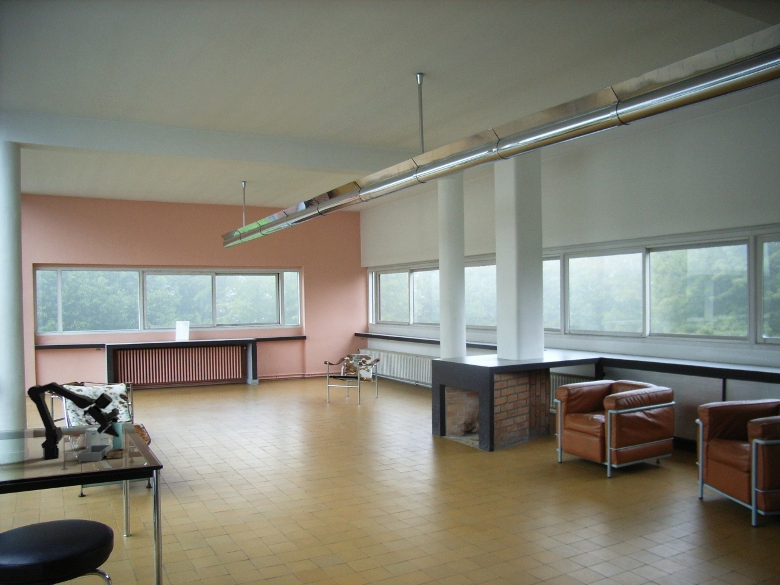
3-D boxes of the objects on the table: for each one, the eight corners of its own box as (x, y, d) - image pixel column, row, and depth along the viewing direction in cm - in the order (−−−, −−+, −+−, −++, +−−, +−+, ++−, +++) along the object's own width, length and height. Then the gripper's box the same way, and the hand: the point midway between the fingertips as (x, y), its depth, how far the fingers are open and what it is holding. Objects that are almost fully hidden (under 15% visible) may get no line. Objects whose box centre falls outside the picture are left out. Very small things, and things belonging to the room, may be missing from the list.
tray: (78, 461, 320) (78, 453, 320) (90, 452, 337) (90, 445, 337) (100, 460, 321) (100, 453, 321) (111, 452, 338) (111, 444, 338)
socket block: (106, 458, 326) (106, 452, 326) (111, 454, 334) (111, 448, 334) (122, 457, 327) (122, 452, 327) (127, 453, 335) (127, 448, 335)
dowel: (114, 449, 327) (114, 424, 327) (111, 447, 330) (111, 423, 330) (123, 448, 330) (123, 423, 330) (120, 446, 333) (120, 422, 333)
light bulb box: (102, 444, 356) (102, 425, 356) (109, 445, 352) (109, 426, 352) (84, 448, 347) (84, 428, 347) (91, 449, 344) (91, 430, 344)
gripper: (103, 407, 321) (125, 428, 322) (115, 401, 339) (136, 420, 340) (87, 423, 320) (110, 444, 321) (100, 415, 338) (121, 435, 339)
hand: (120, 435), depth 330 cm, fingers closed on dowel, 4 cm apart
